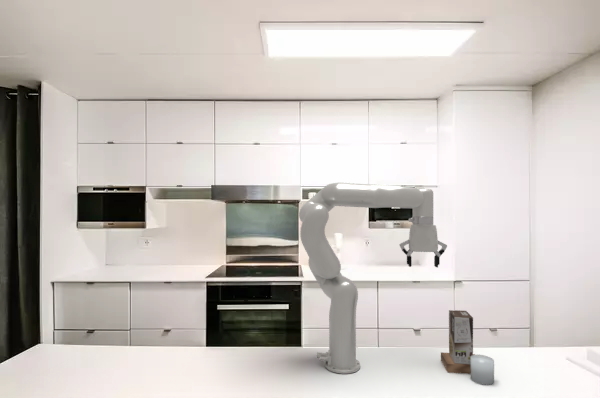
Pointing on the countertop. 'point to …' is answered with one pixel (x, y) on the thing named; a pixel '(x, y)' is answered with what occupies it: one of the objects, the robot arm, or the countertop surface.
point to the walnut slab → (454, 365)
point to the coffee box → (460, 336)
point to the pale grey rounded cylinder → (482, 369)
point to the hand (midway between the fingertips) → (422, 266)
